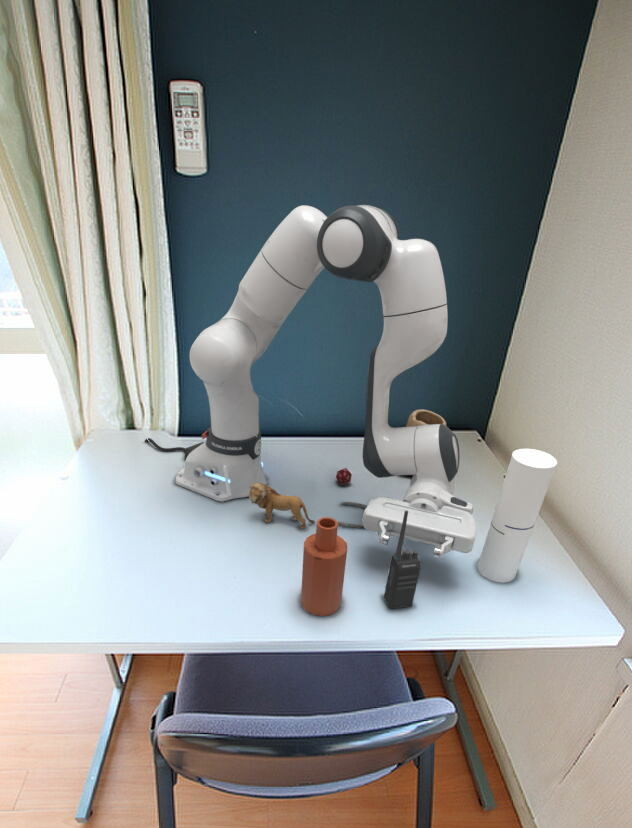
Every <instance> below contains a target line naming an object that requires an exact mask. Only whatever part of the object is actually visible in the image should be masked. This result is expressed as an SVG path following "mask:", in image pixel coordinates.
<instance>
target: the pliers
mask: <svg viewBox="0 0 632 828" xmlns="http://www.w3.org/2000/svg"><path fill="white" fill-rule="evenodd" d="M340 504H341V505H342V506H354V507H357V508H362V509H364V510H365V509H366V507H367V506H368V504H363V503H359V502H354V501H341V502H340ZM336 521H337V522H338V526H342V527H347V528H356V529H357V528H365V527H364V526H363V524H362V523H350V522H349V523H347V522H344V521H338V520H336Z"/></svg>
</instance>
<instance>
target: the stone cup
mask: <svg viewBox="0 0 632 828" xmlns="http://www.w3.org/2000/svg"><path fill="white" fill-rule="evenodd" d="M431 424H444V425H445V426H447V422H446V420H445V418H443V417H442V416H441V415H439V414H438V413H435V412H434V411H431V410H427V409H423V408H422V409H421V408H420V409H416V410H414V411H412V412H411V413H410V414H409V416H408V418H407V422H406V425H405V427H411V426H419V425H431Z"/></svg>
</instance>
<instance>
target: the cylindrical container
mask: <svg viewBox="0 0 632 828" xmlns="http://www.w3.org/2000/svg"><path fill="white" fill-rule="evenodd" d="M508 463H509V464H508V467H507V470H506V472H505V476H504V480H503V482H502V485H501V489H500V492H499V495H498V499H497V502H496V506H495V508H494V512H493V515H492V519H491V522H490V525H489V528H488V531H487V535H486V537H485V541H484V545H483V546H482V547H483V548H482V551H481V553H480V557H479V561H478V564H477V570H478V572H479V574H480V575H482V577H484V578H485V579H487V580H488V581H489V580H490V581H491V582H495V583H502V584H503V583H510V582H512V581H513V580H515V579H516V576H517V573H518V570H519V568H520V565H521V562H522V559H523V557H524V554H525V552H526V549H527V546H528V543H529V540H530V538H531V535H532V532H533V529H534V527H535V525H536V522H537V519H538V516H539V513H540V511H541V508H542V505H543V503H544V500H545V497H546V495H547V492H548V490H549V487H550V484H551V481H552V478H553V477H554V473H555V470H556V468H557V466H558V460H557V459H556V457H555V456H553V455H552V454H550V453H548V452H545V451H543V450H540V449H539V450H538V449H536V448H535V449H534V448H517V449H515V450H513V451H512V453H511V457H510V461H509V462H508Z"/></svg>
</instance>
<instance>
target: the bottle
mask: <svg viewBox="0 0 632 828" xmlns="http://www.w3.org/2000/svg"><path fill="white" fill-rule="evenodd" d="M337 521H338V520H337V519H335V518H333V517H329V516H324V517H323V516H322V517H321V518H318V519H317V521H316V528H315V533H311V534H310V535H309V536H307V537H306V538H305V540H304V541H303V555H302V573H301V575H302V576H301V591H300V595H301V596H300V602H301V606H302V607H303V609H304V610H305V611H306V612H308V613H309V614H311V615H314V616H319V617H327V616H330V615H333V614H335V613H336V612H338V611H339V610H340V608H341V605H342V604H341V603H342V601H343V600H342V599H343V589H344V581H345V573H346V564H347V554H348V543H347V542H346V540H345V539H344V538H343V537H341V536H340V535H338V531H339V525H338V522H337Z"/></svg>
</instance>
